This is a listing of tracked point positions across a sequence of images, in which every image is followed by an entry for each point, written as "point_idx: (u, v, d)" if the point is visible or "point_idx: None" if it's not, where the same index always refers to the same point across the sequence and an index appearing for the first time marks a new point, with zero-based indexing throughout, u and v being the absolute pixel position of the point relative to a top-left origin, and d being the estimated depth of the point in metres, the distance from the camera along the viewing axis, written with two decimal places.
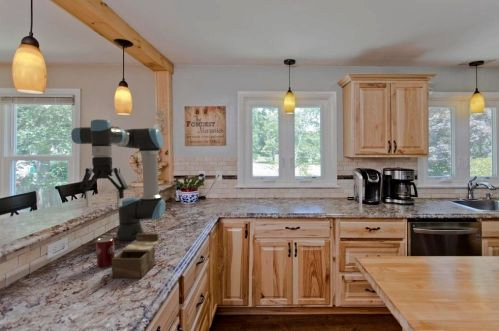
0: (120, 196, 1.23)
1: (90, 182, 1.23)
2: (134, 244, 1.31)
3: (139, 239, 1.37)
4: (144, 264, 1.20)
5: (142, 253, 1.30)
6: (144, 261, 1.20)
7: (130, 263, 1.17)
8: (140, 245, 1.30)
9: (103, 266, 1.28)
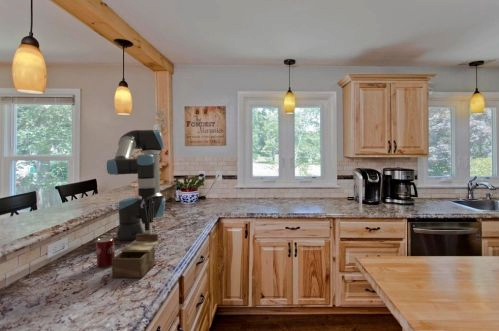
0: None
1: None
2: (134, 245, 1.31)
3: (139, 240, 1.37)
4: (144, 264, 1.20)
5: (142, 253, 1.30)
6: (144, 261, 1.20)
7: (130, 263, 1.17)
8: (140, 245, 1.29)
9: (103, 266, 1.28)
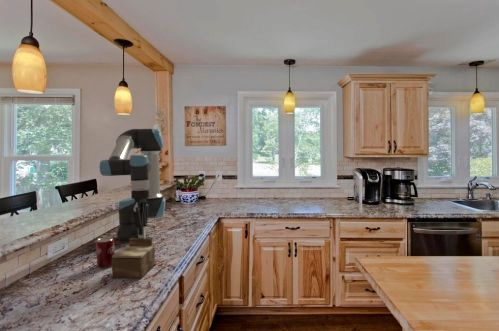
0: None
1: None
2: (127, 250, 1.24)
3: (132, 244, 1.30)
4: (144, 264, 1.20)
5: None
6: (144, 261, 1.20)
7: (130, 263, 1.17)
8: (132, 251, 1.23)
9: (103, 266, 1.28)
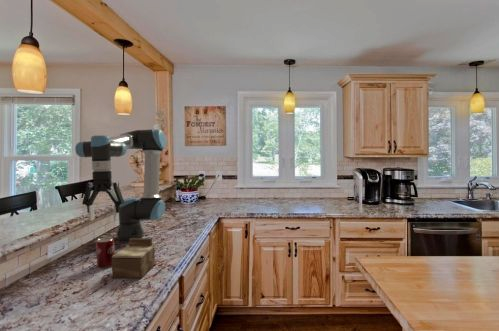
0: (117, 210, 1.29)
1: (92, 196, 1.29)
2: (126, 250, 1.24)
3: (132, 244, 1.30)
4: (144, 264, 1.20)
5: None
6: (144, 261, 1.20)
7: (130, 263, 1.17)
8: (132, 251, 1.22)
9: (103, 266, 1.28)
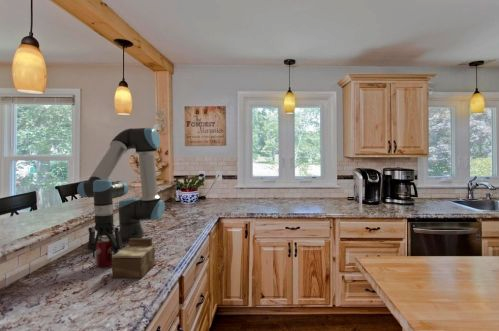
0: None
1: None
2: (126, 250, 1.24)
3: (132, 244, 1.30)
4: (144, 264, 1.20)
5: None
6: (144, 261, 1.20)
7: (130, 263, 1.17)
8: (132, 251, 1.22)
9: (103, 266, 1.28)
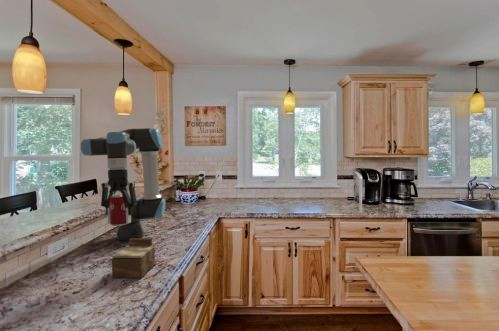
0: (129, 213, 1.22)
1: (109, 197, 1.22)
2: (126, 250, 1.24)
3: (132, 244, 1.30)
4: (144, 264, 1.20)
5: None
6: (144, 261, 1.20)
7: (130, 263, 1.17)
8: (132, 251, 1.22)
9: (116, 223, 1.20)
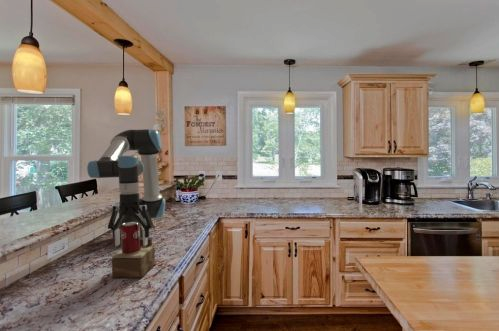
0: (146, 235, 1.20)
1: (118, 220, 1.20)
2: None
3: None
4: (144, 264, 1.20)
5: None
6: (144, 261, 1.20)
7: (130, 263, 1.17)
8: None
9: (129, 252, 1.18)
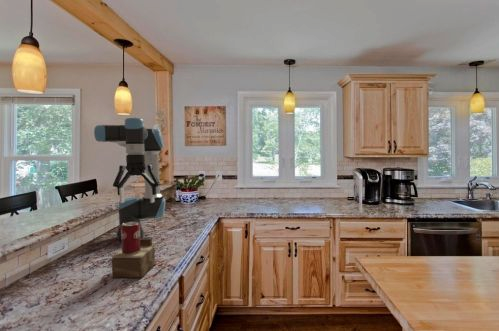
0: (153, 192, 1.26)
1: (124, 179, 1.26)
2: None
3: None
4: (144, 264, 1.20)
5: None
6: (144, 261, 1.20)
7: (130, 263, 1.17)
8: None
9: (129, 252, 1.18)
